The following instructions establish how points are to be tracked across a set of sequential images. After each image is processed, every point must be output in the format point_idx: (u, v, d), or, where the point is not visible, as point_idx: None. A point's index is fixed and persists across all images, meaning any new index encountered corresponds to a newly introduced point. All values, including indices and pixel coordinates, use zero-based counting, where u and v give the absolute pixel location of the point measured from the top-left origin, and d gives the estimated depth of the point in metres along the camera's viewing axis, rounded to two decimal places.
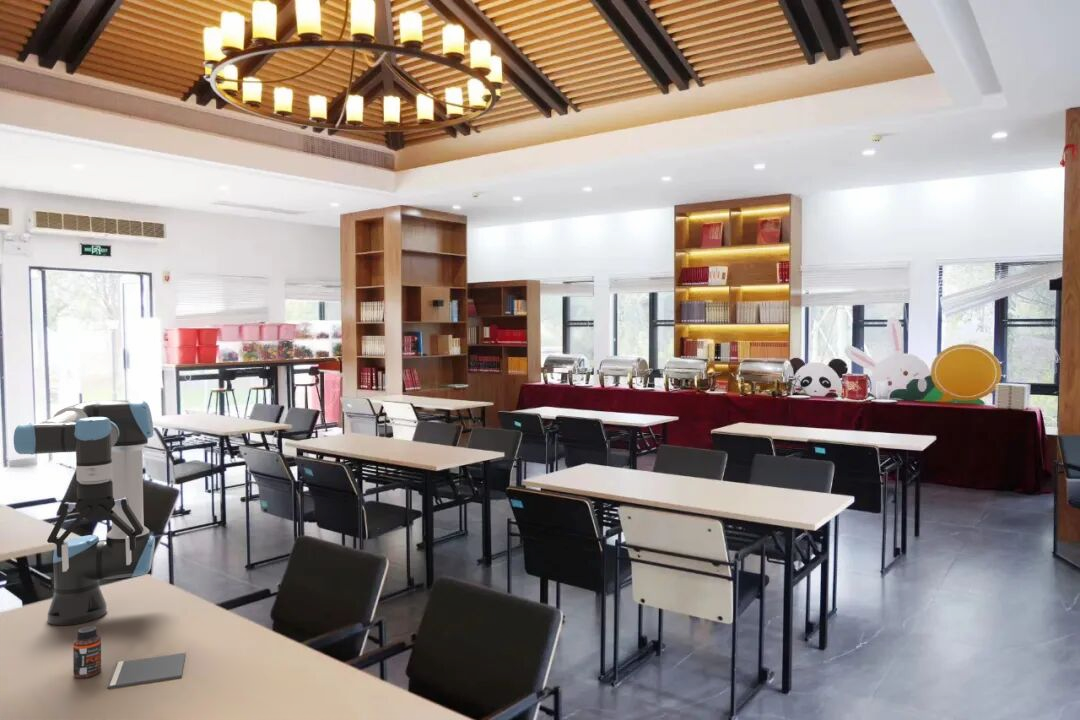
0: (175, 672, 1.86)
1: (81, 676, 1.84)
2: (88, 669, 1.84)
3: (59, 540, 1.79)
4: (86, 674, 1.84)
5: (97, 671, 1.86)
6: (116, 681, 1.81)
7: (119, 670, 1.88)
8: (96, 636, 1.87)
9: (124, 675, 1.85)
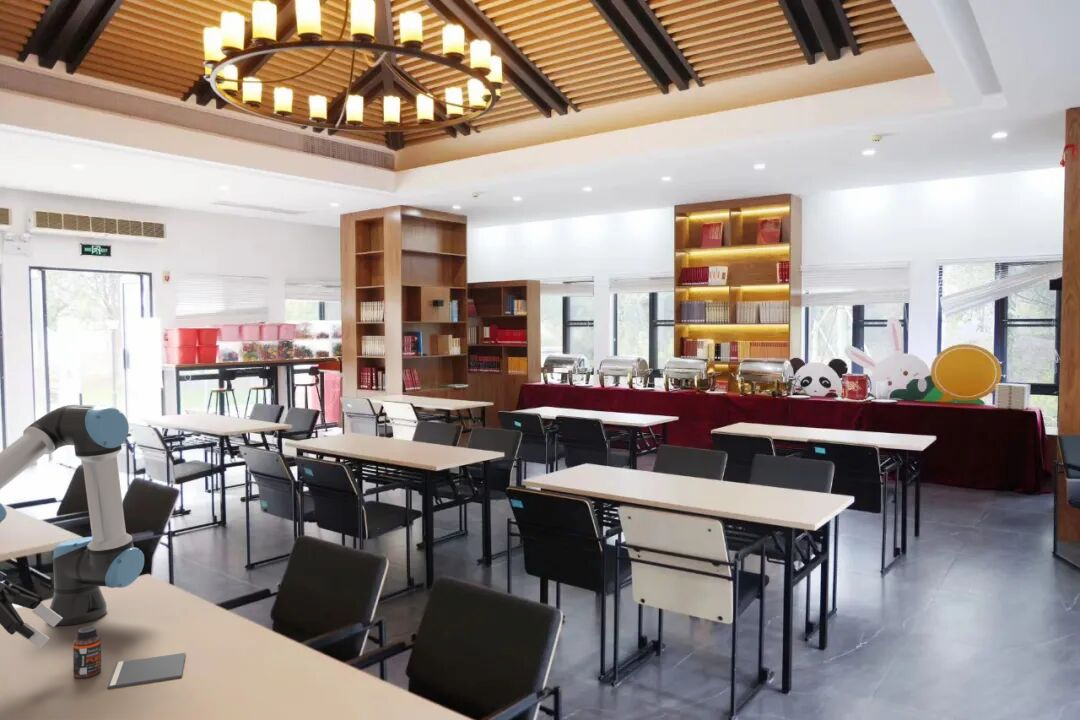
0: (175, 672, 1.86)
1: (81, 676, 1.84)
2: (88, 669, 1.84)
3: None
4: (86, 674, 1.84)
5: (97, 671, 1.86)
6: (116, 681, 1.81)
7: (119, 670, 1.88)
8: (96, 636, 1.87)
9: (124, 675, 1.85)
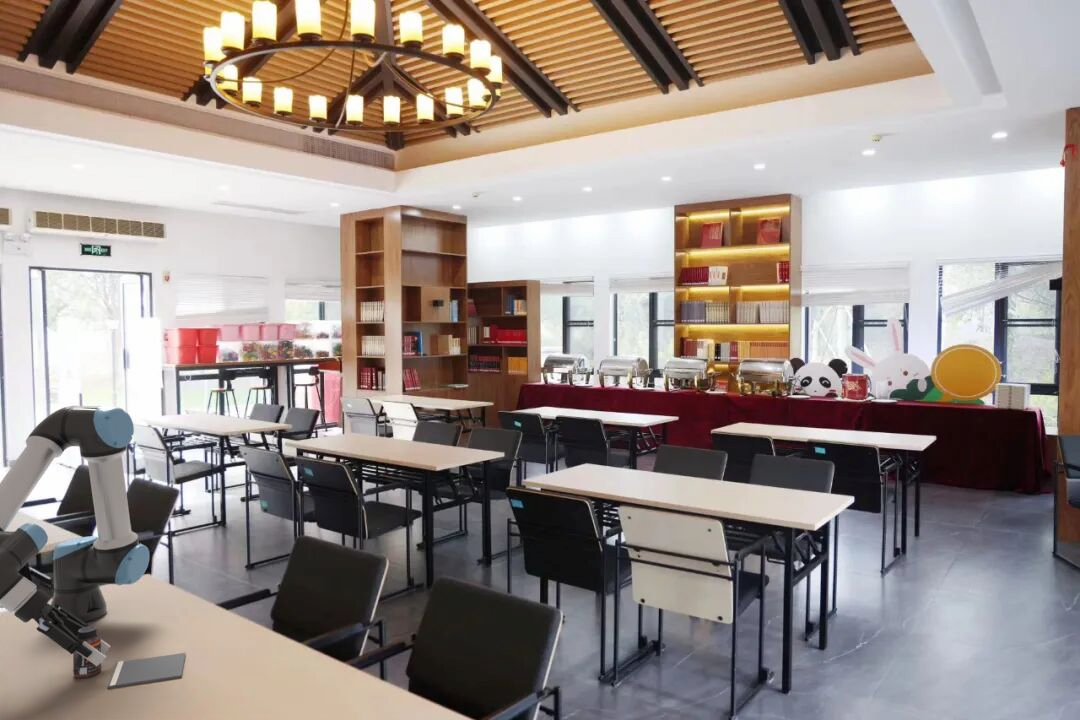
0: (175, 672, 1.86)
1: (81, 676, 1.84)
2: (87, 669, 1.84)
3: None
4: (86, 674, 1.84)
5: (97, 671, 1.86)
6: (116, 681, 1.81)
7: (119, 670, 1.88)
8: (96, 636, 1.87)
9: (124, 675, 1.85)
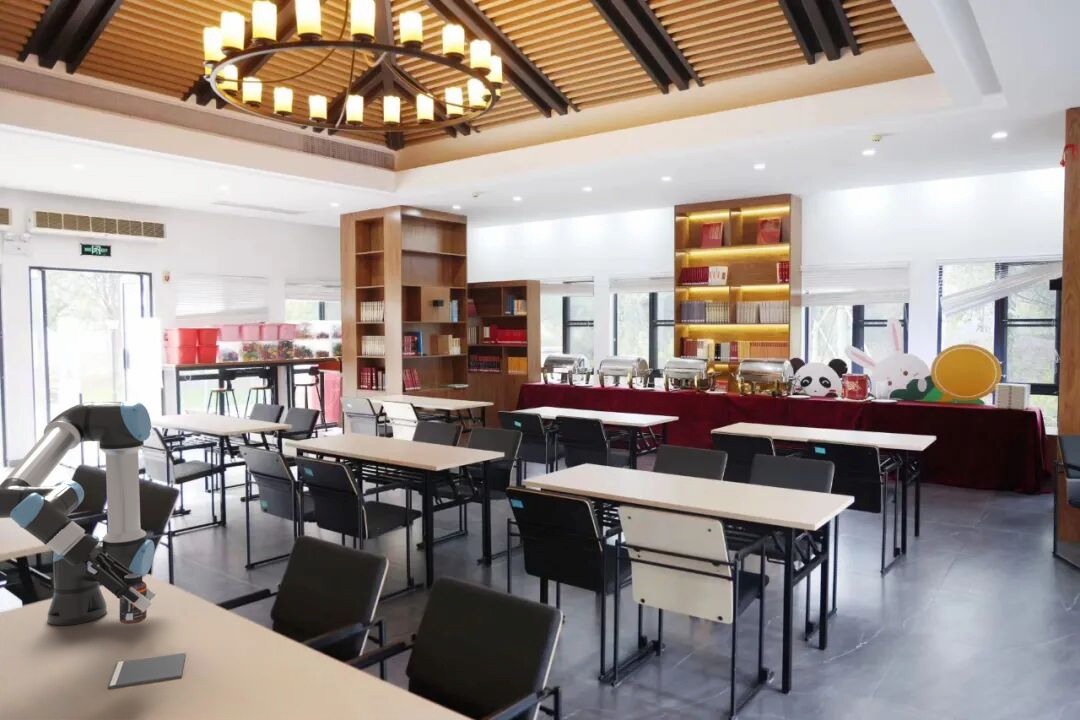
0: (175, 672, 1.86)
1: (127, 622, 1.84)
2: (134, 615, 1.84)
3: None
4: (132, 620, 1.84)
5: (143, 618, 1.86)
6: (116, 681, 1.81)
7: (119, 670, 1.88)
8: (142, 583, 1.86)
9: (124, 675, 1.85)
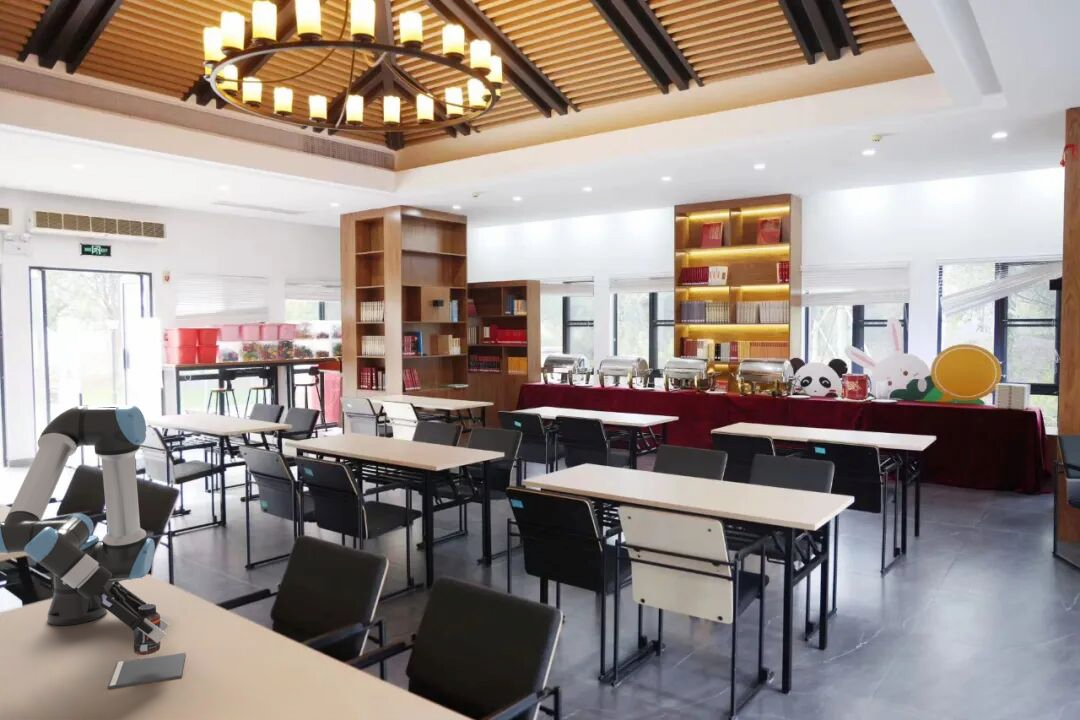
0: (175, 672, 1.86)
1: (142, 653, 1.85)
2: (148, 646, 1.85)
3: None
4: (146, 651, 1.85)
5: (157, 648, 1.87)
6: (116, 681, 1.81)
7: (119, 670, 1.88)
8: (156, 613, 1.88)
9: (124, 675, 1.85)
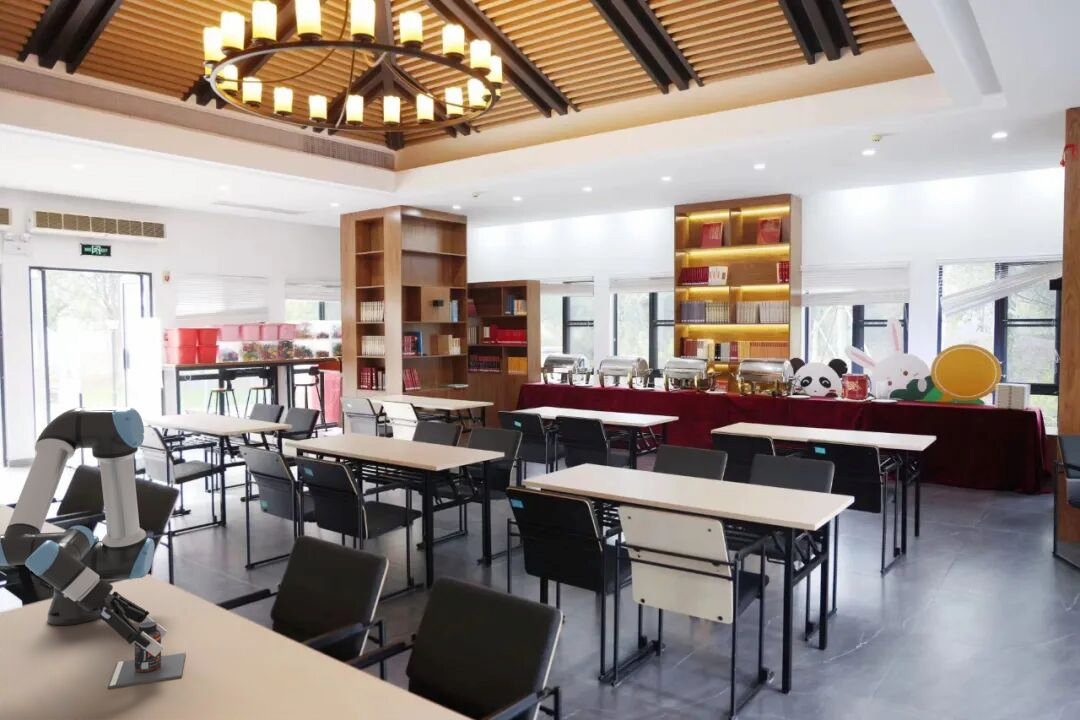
0: (175, 672, 1.86)
1: (143, 671, 1.86)
2: (149, 664, 1.86)
3: None
4: (147, 669, 1.86)
5: (158, 666, 1.88)
6: (116, 681, 1.81)
7: (119, 670, 1.88)
8: (157, 631, 1.89)
9: (124, 675, 1.85)
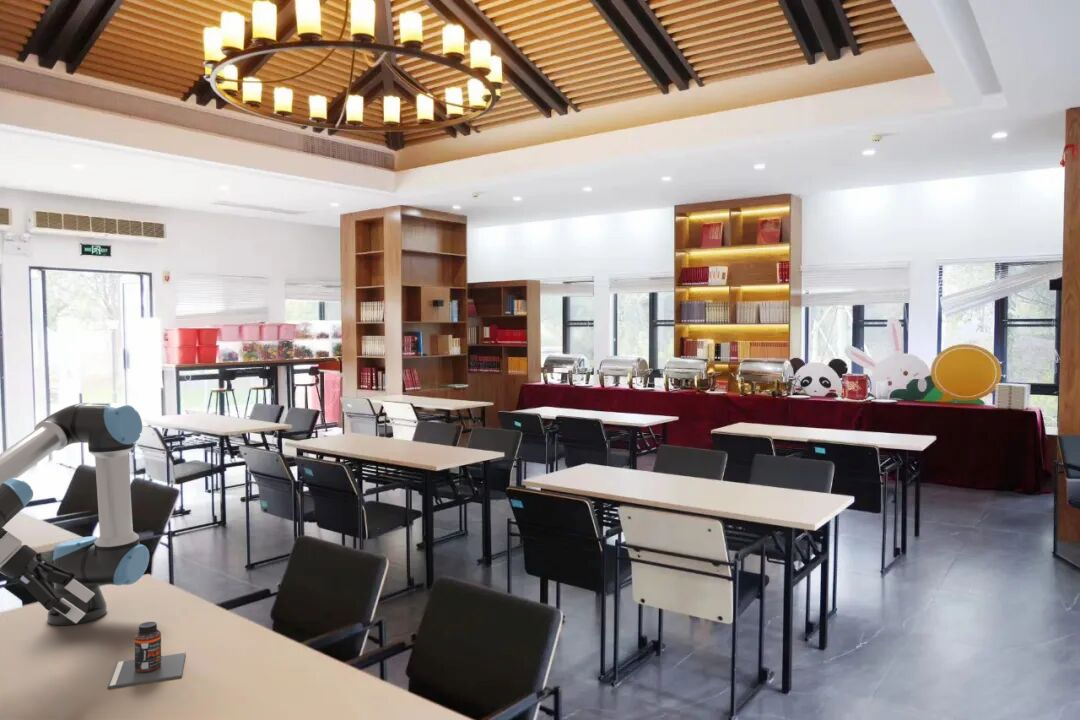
0: (175, 672, 1.86)
1: (143, 671, 1.86)
2: (149, 664, 1.86)
3: None
4: (148, 669, 1.86)
5: (158, 666, 1.88)
6: (116, 681, 1.81)
7: (119, 670, 1.88)
8: (157, 631, 1.89)
9: (124, 675, 1.85)
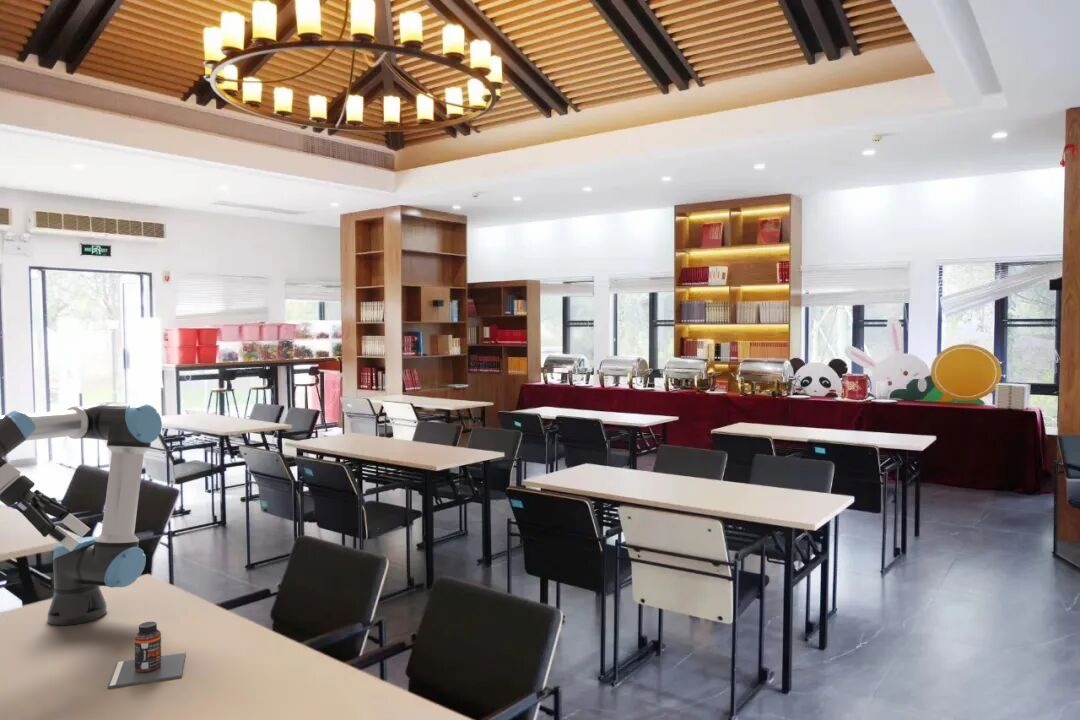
0: (175, 672, 1.86)
1: (143, 671, 1.86)
2: (149, 664, 1.86)
3: None
4: (148, 669, 1.86)
5: (158, 666, 1.88)
6: (116, 681, 1.81)
7: (119, 670, 1.88)
8: (157, 631, 1.89)
9: (124, 675, 1.85)
